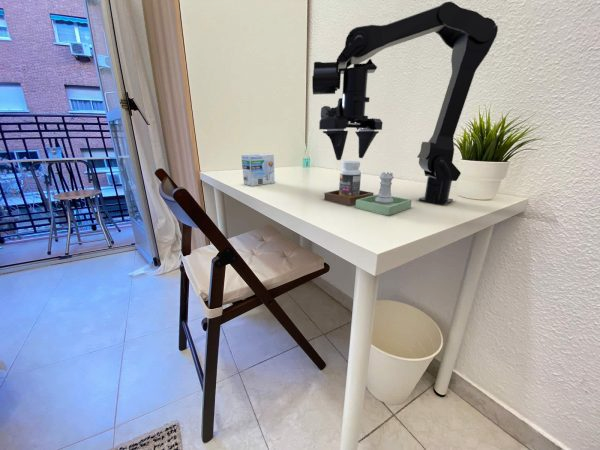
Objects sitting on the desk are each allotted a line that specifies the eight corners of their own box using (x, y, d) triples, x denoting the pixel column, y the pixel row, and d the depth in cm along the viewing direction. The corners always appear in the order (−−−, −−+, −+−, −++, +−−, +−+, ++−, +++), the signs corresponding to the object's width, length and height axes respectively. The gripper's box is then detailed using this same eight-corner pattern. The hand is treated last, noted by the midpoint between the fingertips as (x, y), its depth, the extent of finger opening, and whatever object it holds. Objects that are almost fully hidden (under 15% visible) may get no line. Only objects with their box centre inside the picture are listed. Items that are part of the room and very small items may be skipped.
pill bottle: (334, 197, 69) (335, 161, 66) (347, 194, 73) (349, 160, 69) (350, 201, 65) (352, 163, 62) (363, 198, 68) (366, 161, 65)
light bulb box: (252, 186, 89) (249, 155, 86) (242, 184, 94) (240, 155, 90) (275, 182, 96) (274, 154, 92) (265, 180, 101) (264, 153, 97)
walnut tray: (347, 194, 75) (347, 187, 75) (373, 199, 69) (373, 192, 68) (324, 199, 69) (324, 192, 69) (349, 206, 63) (350, 198, 62)
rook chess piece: (378, 202, 64) (381, 171, 61) (395, 205, 61) (399, 172, 58) (371, 205, 61) (374, 173, 58) (389, 209, 58) (393, 175, 55)
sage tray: (378, 200, 67) (379, 193, 67) (410, 207, 61) (412, 199, 60) (355, 207, 61) (355, 199, 61) (388, 215, 55) (389, 207, 54)
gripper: (352, 100, 71) (349, 155, 77) (304, 94, 60) (304, 159, 65) (386, 95, 63) (380, 157, 69) (338, 87, 52) (335, 162, 57)
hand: (350, 159), depth 65 cm, fingers open, 9 cm apart
